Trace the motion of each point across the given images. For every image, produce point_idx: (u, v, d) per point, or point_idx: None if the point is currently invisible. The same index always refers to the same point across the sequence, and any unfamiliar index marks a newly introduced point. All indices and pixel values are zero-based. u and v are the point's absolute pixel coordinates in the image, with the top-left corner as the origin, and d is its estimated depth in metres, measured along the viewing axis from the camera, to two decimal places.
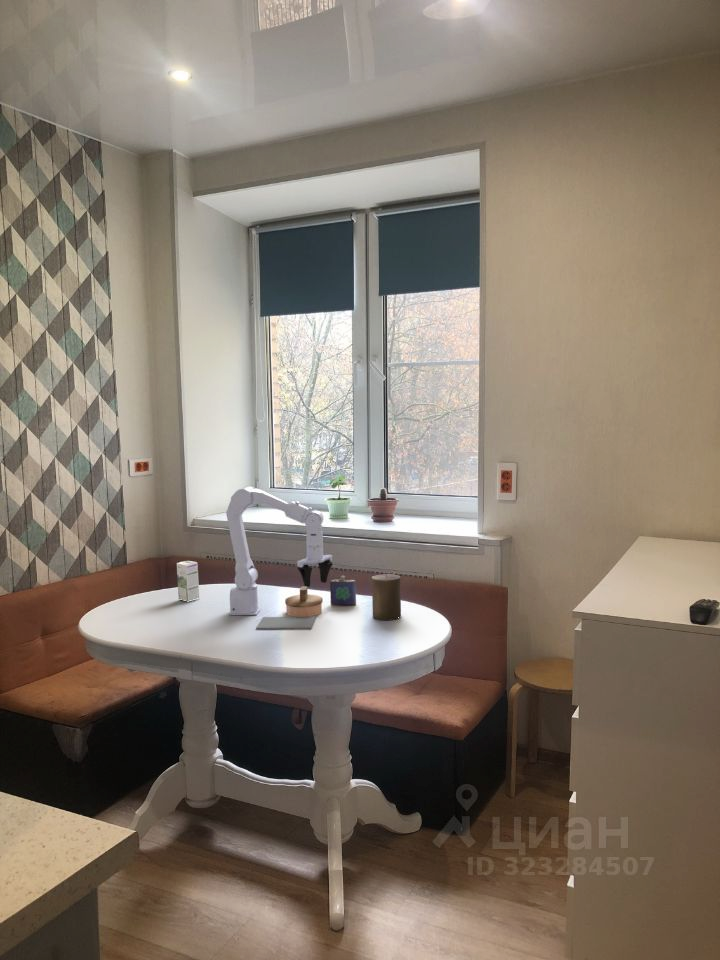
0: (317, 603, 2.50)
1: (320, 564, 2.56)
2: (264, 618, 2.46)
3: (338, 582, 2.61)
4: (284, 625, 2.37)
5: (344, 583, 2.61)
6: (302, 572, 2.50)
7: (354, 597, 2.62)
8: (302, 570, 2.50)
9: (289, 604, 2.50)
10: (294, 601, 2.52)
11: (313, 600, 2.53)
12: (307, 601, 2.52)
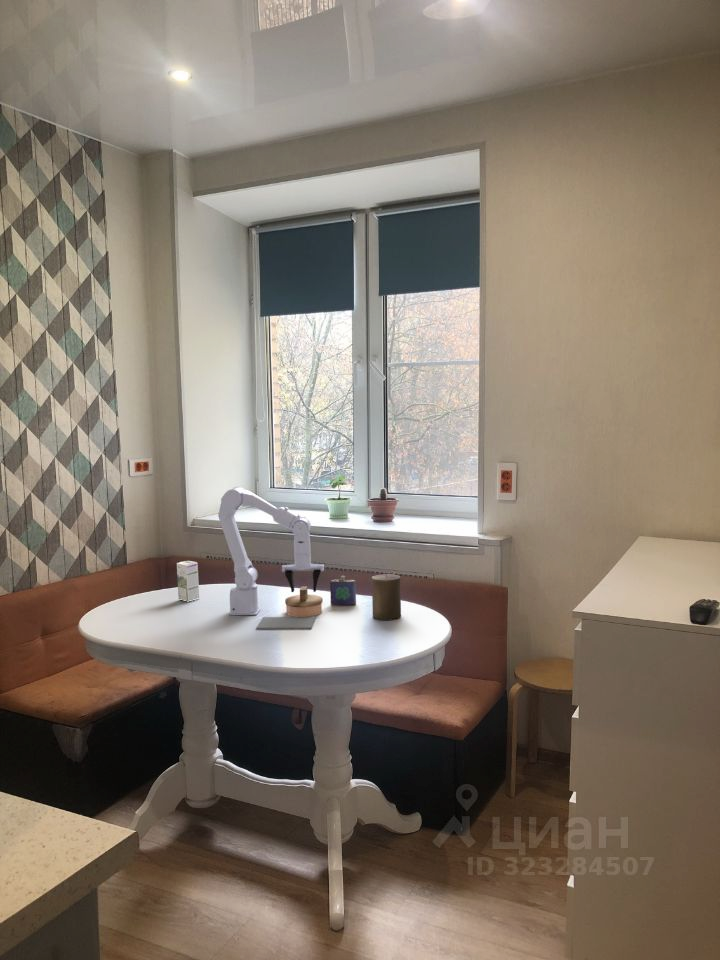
0: (317, 603, 2.50)
1: None
2: (264, 618, 2.46)
3: (338, 582, 2.61)
4: (284, 625, 2.37)
5: (344, 583, 2.61)
6: None
7: (354, 597, 2.62)
8: None
9: (289, 604, 2.50)
10: (294, 601, 2.52)
11: (313, 600, 2.53)
12: (307, 601, 2.52)
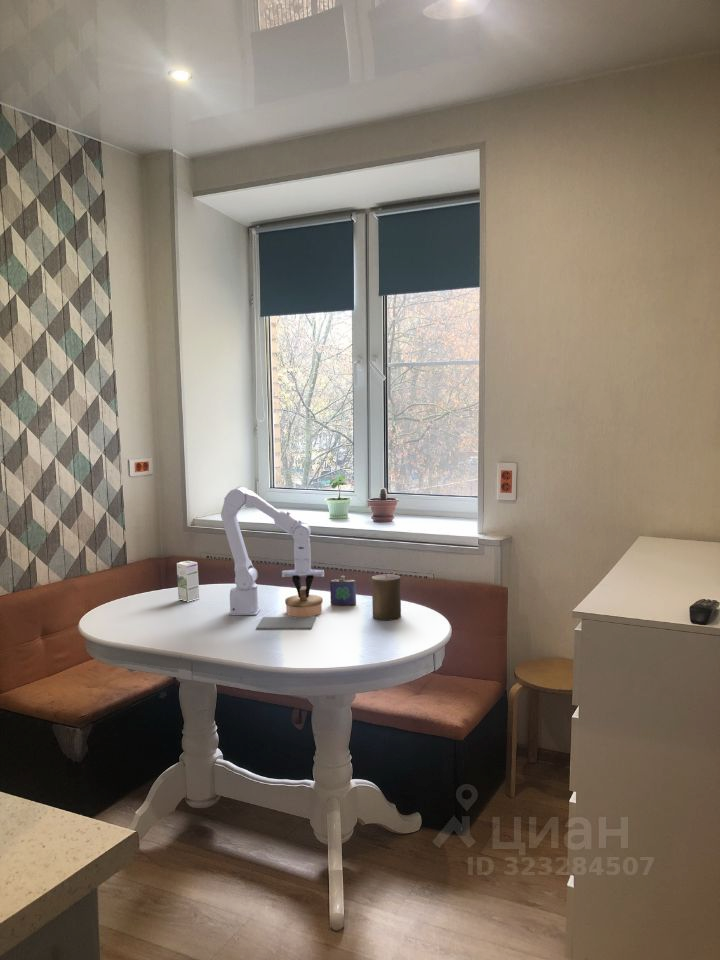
0: (317, 603, 2.50)
1: None
2: (264, 618, 2.46)
3: (338, 582, 2.61)
4: (284, 625, 2.37)
5: (344, 583, 2.61)
6: None
7: (354, 597, 2.62)
8: None
9: (289, 604, 2.50)
10: (294, 601, 2.52)
11: (313, 600, 2.53)
12: (307, 601, 2.52)
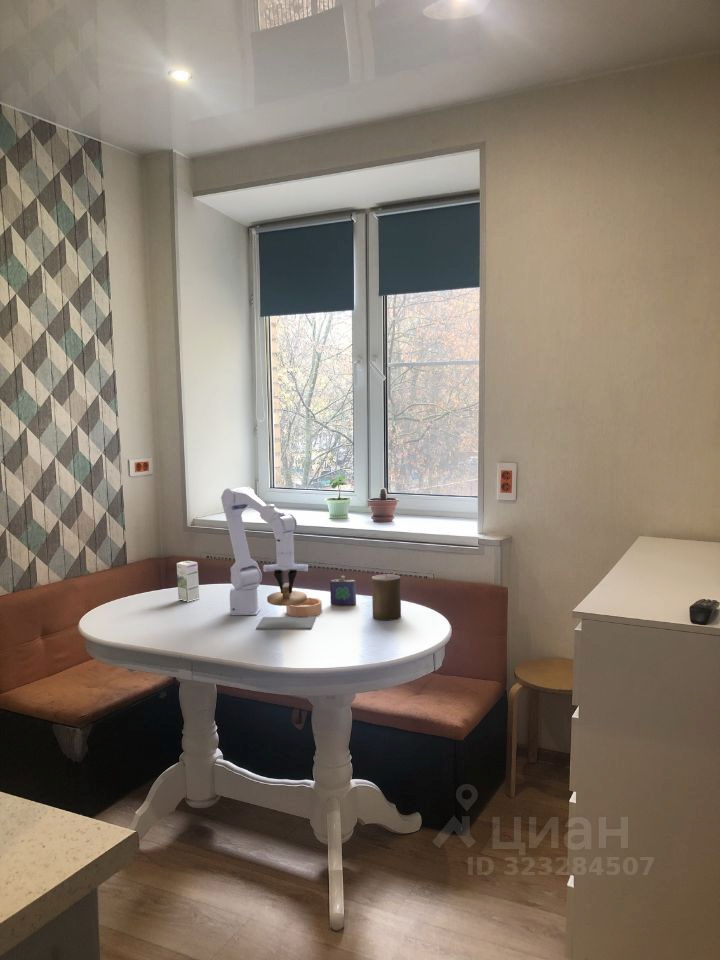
0: (301, 601, 2.37)
1: None
2: (264, 618, 2.46)
3: (338, 582, 2.61)
4: (284, 625, 2.37)
5: (344, 583, 2.61)
6: None
7: (354, 597, 2.62)
8: None
9: (271, 602, 2.37)
10: (277, 599, 2.39)
11: (296, 598, 2.40)
12: (290, 599, 2.38)
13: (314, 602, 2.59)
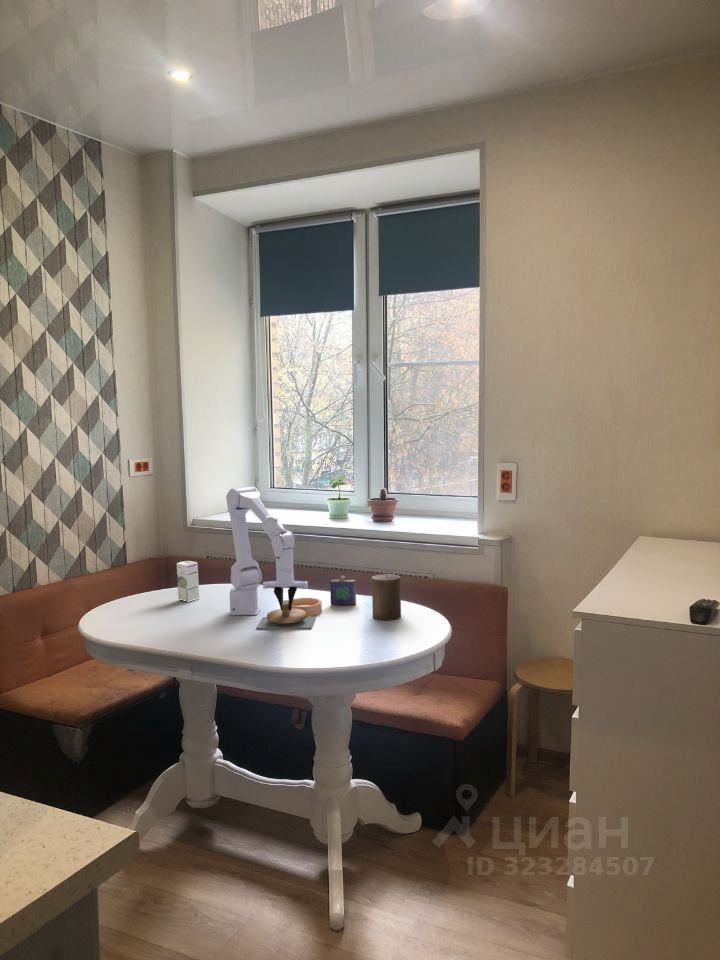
0: (300, 619, 2.37)
1: None
2: (264, 618, 2.46)
3: (338, 582, 2.61)
4: (284, 625, 2.37)
5: (344, 583, 2.61)
6: None
7: (354, 597, 2.62)
8: None
9: (271, 620, 2.37)
10: (276, 617, 2.38)
11: (296, 615, 2.39)
12: (290, 616, 2.38)
13: (314, 602, 2.59)
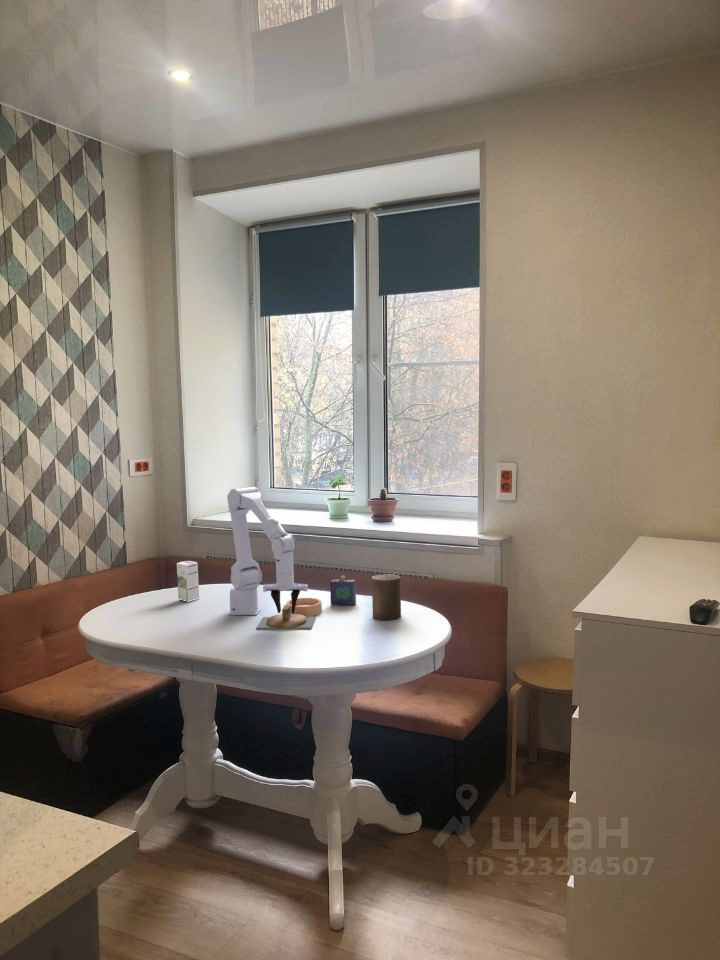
0: (300, 623, 2.37)
1: None
2: (264, 618, 2.46)
3: (338, 582, 2.61)
4: None
5: (344, 583, 2.61)
6: None
7: (354, 597, 2.62)
8: None
9: (271, 624, 2.37)
10: (276, 621, 2.39)
11: (296, 620, 2.40)
12: (290, 621, 2.39)
13: (314, 602, 2.59)
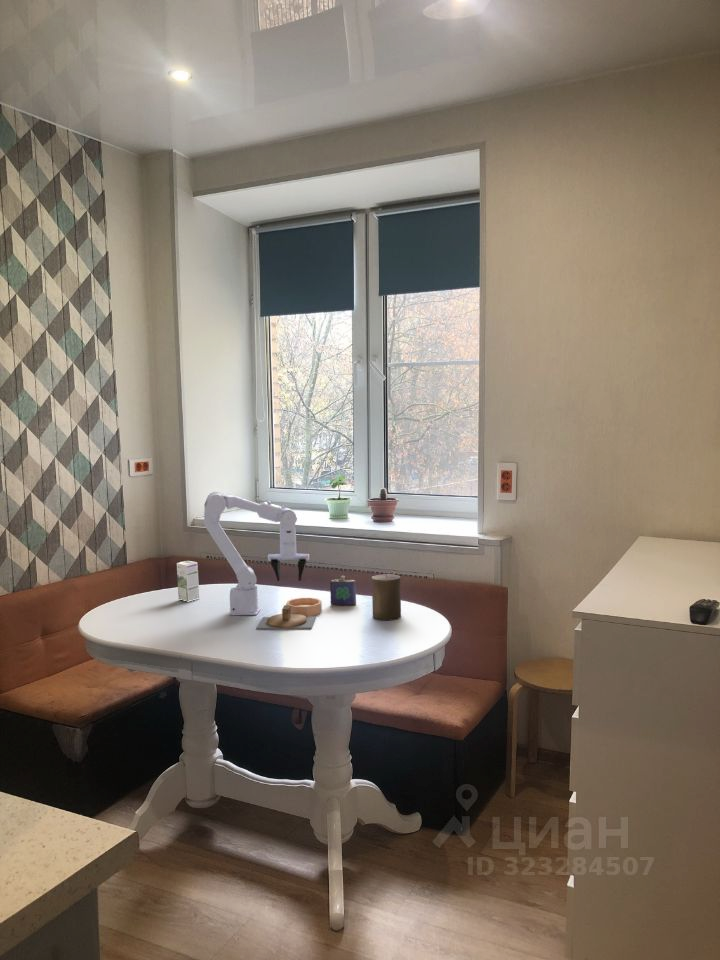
0: (300, 623, 2.37)
1: None
2: (264, 618, 2.46)
3: (338, 582, 2.61)
4: None
5: (344, 583, 2.61)
6: None
7: (354, 597, 2.62)
8: None
9: (271, 624, 2.37)
10: (276, 621, 2.39)
11: (296, 620, 2.40)
12: (290, 621, 2.39)
13: (314, 602, 2.59)
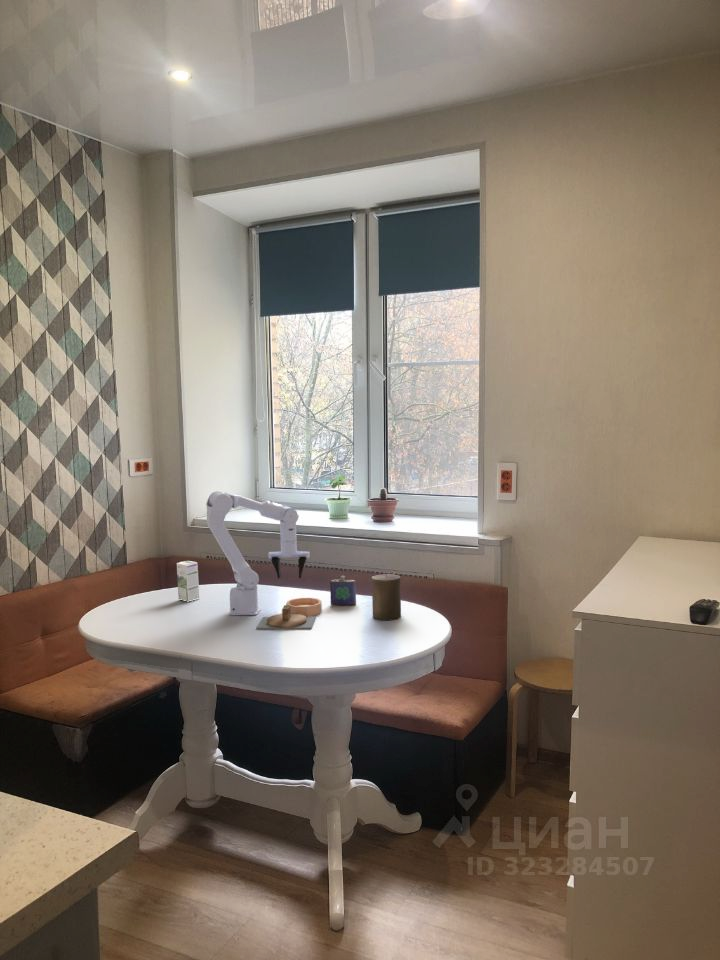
0: (300, 623, 2.37)
1: None
2: (264, 618, 2.46)
3: (338, 582, 2.61)
4: None
5: (344, 583, 2.61)
6: None
7: (354, 597, 2.62)
8: None
9: (271, 624, 2.37)
10: (276, 621, 2.39)
11: (296, 620, 2.40)
12: (290, 621, 2.39)
13: (314, 602, 2.59)
